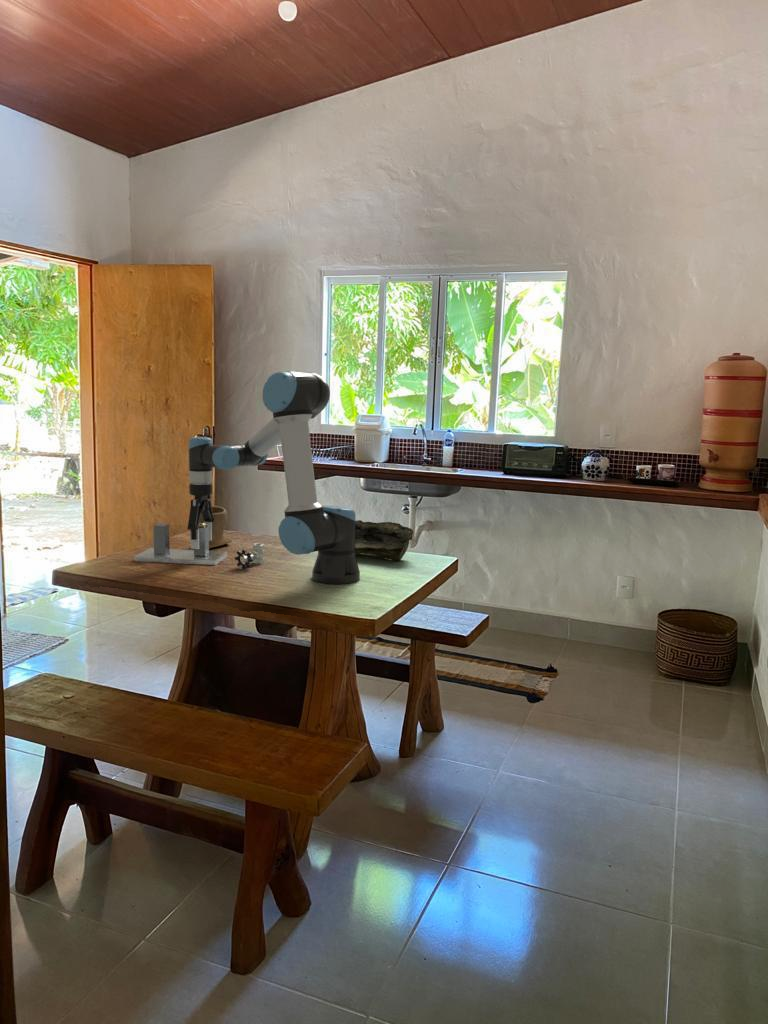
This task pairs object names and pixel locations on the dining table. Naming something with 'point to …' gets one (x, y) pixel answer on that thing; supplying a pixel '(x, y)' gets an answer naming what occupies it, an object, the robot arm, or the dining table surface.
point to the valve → (251, 556)
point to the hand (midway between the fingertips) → (201, 544)
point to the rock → (382, 539)
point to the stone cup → (218, 527)
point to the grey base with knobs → (175, 551)
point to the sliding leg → (203, 540)
